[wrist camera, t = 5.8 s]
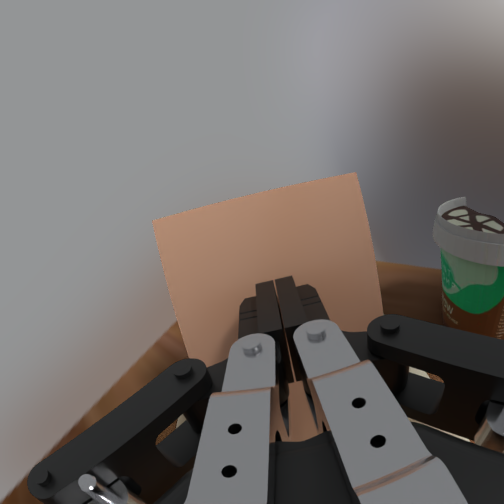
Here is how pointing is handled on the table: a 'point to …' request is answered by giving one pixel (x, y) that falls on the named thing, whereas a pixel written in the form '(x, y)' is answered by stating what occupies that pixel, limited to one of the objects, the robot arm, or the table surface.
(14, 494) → the table surface
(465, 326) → the food container
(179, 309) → the tile
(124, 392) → the table surface
